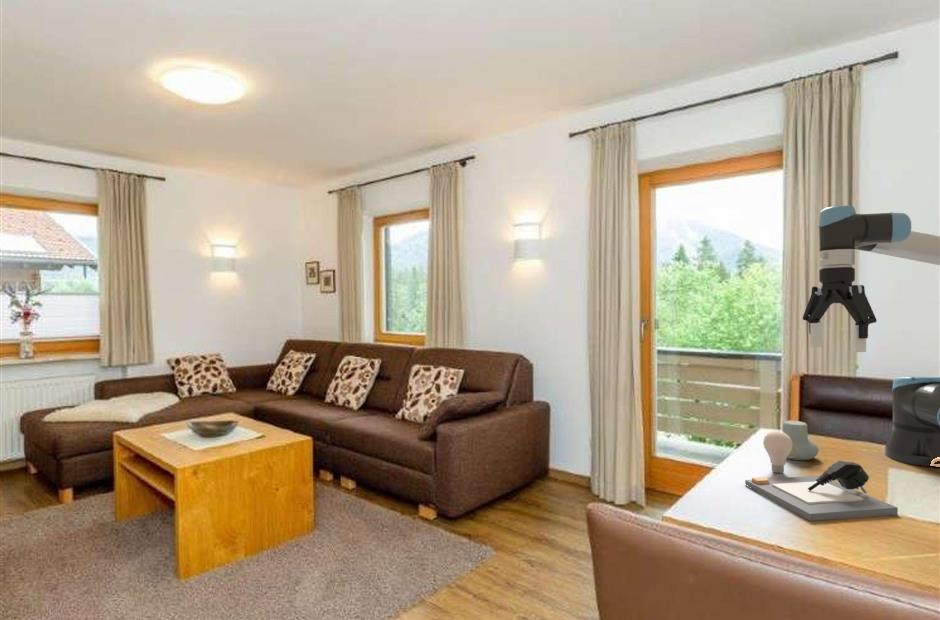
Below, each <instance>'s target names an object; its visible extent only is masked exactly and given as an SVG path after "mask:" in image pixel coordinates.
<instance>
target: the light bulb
mask: <svg viewBox="0 0 940 620" xmlns="http://www.w3.org/2000/svg"><path fill="white" fill-rule="evenodd" d="M762 444H763V447H764V449H765V451H766V453H767V455H768V457H769V461H770V463H771V471H772V472H773V473H775V474H783V473H784V471H785V465H786V461H787V459H788V458H787V457H788V455H789V454H790V452H791V451H792V446H793V445H792V440H791V439H790V437H789V436H788V435H787V434H785V433H784V432H783V431H780V430H774V431H773V430H772V431H769V432H768V433H766V435H765V436H764V437H763V443H762Z"/></svg>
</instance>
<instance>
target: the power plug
mask: <svg viewBox="0 0 940 620" xmlns="http://www.w3.org/2000/svg"><path fill="white" fill-rule="evenodd" d="M820 475H821V477H819V479H817V480H816V481H817V482H816V483H815V484H814V485H812V486H811V487H809V488H808V490H809V491H811V490H812V489H814V488H815V487H817V486H818V485H822V486H823V485H825V484H827V483H829V481H830V482H832V481H836V480H837V482H838V483H840V484H841V485H842V487H844V488H845V489H854V490H859V489H860V490H861V491H862V493H864V494H867V493H868V490H867V489H866V486H864V485H866V483H867V482H869V479H870V478H869V475H868V474H867V472H866V471H865V469H864V468H863V467H862V466H861V464H859V463H856V462H853V461H844V460H843V461H842V460H838V461H836V462H835V463H833V464H832V465H831V466H829V467H828V468H827V469H826V470H825V471H823V473H821V474H820ZM831 480H832V481H831ZM826 482H827V483H826ZM824 483H825V484H824Z"/></svg>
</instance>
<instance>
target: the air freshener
mask: <svg viewBox="0 0 940 620" xmlns="http://www.w3.org/2000/svg"><path fill="white" fill-rule="evenodd" d="M782 432H784V433H785V434H787V435H788V436H789V437H790V439H791V440H792V445H793V446H792V451H791V452H790V454H789V455H788V457H787V458H786V459H787V460H788V459H789V460H794V461H809V460H812V459H814V458H816V456H817V455H818V454H819V446H818V444H816V443H815V442H814V441H813V440H812V439H810V438H808V437H809V436H808V435H809V433H808V424H807V422H804V421H800V420H798V421H797V420H784V421H783V422H782Z"/></svg>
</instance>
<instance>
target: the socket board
mask: <svg viewBox="0 0 940 620" xmlns="http://www.w3.org/2000/svg"><path fill="white" fill-rule="evenodd" d="M821 475H822V474H819V475H808V476H807V475H806V476H804V475H803V476H789V477H787V476H786V477H773V478H772V477H771V478H766V477H763V476H762V477H751V479H745V480H744V483H745V484H746V485H748V486H749V487H751V488H753V489H754V490H753V489H752V490H753V491H755V490H756V491H758V492H759V493H758V492H757V493H758V494H760V493H761V494H760V495H762V494H763V495H764V496H763V495H762V496H763V497H765V496H766V497H765V498H767V497H768V498H767V499H769V500H771V501H772V502H774V501H775V502H774V503H776V504H778V505H779V506H781V507H783V508H785V509H787V510H789V511H790V512H792V513H794V514H796V515H798V516H799V517H801V518H803V519H806V520H807V521H809V522H817V521H830V520H844V519H845V520H846V519H858V518H859V519H860V518H873V517H886V516H898V513H899V512H898V511H899V509H898V507H897V506H895V505H892V504H891V503H888V502H885V501H883V500H881V499H878V498H875V497H873V496H871V495H868V494H867V493H864V492H861V491H858V489H845V488H844V487H842V485H841V484H840V483H839V482H838V481H836V480H834V481H832V480H831V481H832V482H830V481H829V483H827V482H826V483H827V484H825V483H824V484H825V485H823V486H822V485H818V486H817V487H815V488H814V489H812V490H811V491H809V490H808V488H809V487H811V486H812V485H814V484H815V483H816V482H817V481H816V480H817V479H819V477H821ZM746 485H745V486H746ZM749 487H748V488H749ZM751 488H750V489H751ZM756 491H755V492H756Z"/></svg>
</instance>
